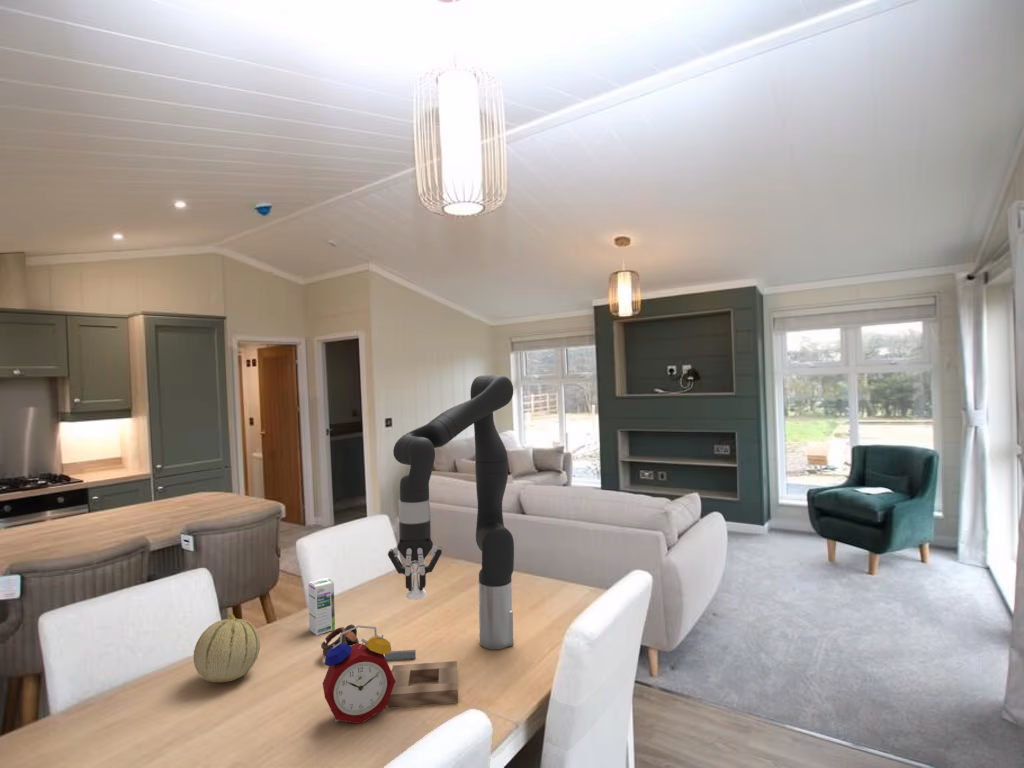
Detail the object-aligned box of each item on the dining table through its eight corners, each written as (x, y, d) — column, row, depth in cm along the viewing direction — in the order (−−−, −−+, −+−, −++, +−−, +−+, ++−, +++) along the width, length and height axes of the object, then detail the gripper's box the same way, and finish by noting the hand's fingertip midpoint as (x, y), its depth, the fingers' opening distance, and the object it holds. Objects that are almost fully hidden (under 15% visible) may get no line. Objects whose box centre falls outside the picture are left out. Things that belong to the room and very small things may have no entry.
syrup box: (316, 636, 159) (315, 586, 159) (308, 629, 163) (308, 581, 163) (335, 630, 163) (334, 581, 163) (327, 623, 167) (326, 576, 167)
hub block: (457, 672, 138) (457, 660, 138) (458, 702, 125) (457, 689, 125) (392, 677, 136) (392, 665, 136) (386, 708, 123) (386, 694, 123)
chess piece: (407, 592, 135) (406, 552, 135) (427, 591, 135) (426, 551, 135) (404, 600, 130) (403, 558, 130) (425, 599, 130) (424, 557, 130)
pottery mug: (358, 666, 143) (341, 642, 141) (328, 679, 144) (311, 655, 143) (372, 633, 154) (356, 611, 153) (344, 646, 156) (328, 624, 154)
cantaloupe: (192, 702, 126) (191, 637, 126) (195, 672, 139) (194, 614, 139) (262, 685, 133) (261, 623, 133) (259, 658, 146) (258, 602, 146)
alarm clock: (325, 733, 114) (324, 638, 114) (322, 710, 122) (320, 621, 122) (396, 715, 120) (394, 624, 120) (388, 695, 128) (387, 610, 128)
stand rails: (415, 657, 146) (415, 649, 146) (412, 679, 135) (412, 671, 135) (385, 659, 145) (385, 651, 145) (379, 681, 134) (379, 673, 134)
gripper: (444, 513, 137) (444, 582, 137) (388, 515, 136) (389, 585, 136) (442, 521, 130) (443, 594, 130) (383, 523, 128) (384, 596, 128)
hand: (415, 589), depth 133 cm, fingers closed on chess piece
